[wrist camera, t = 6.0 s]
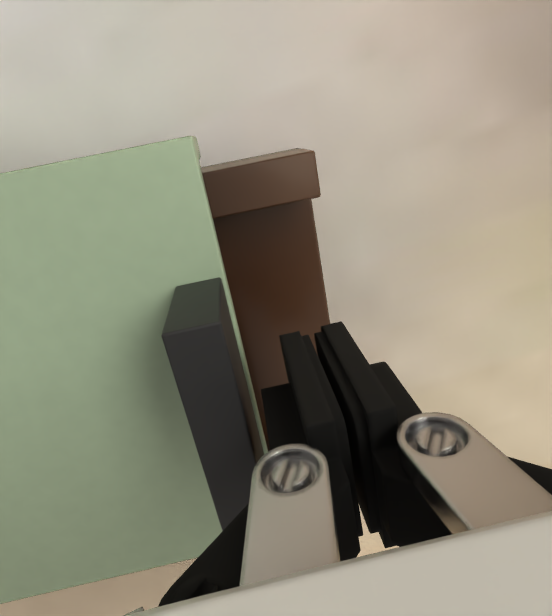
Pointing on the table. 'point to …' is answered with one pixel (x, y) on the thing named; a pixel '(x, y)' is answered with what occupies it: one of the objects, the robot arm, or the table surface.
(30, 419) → the lid
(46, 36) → the table surface
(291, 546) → the robot arm
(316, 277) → the tray
